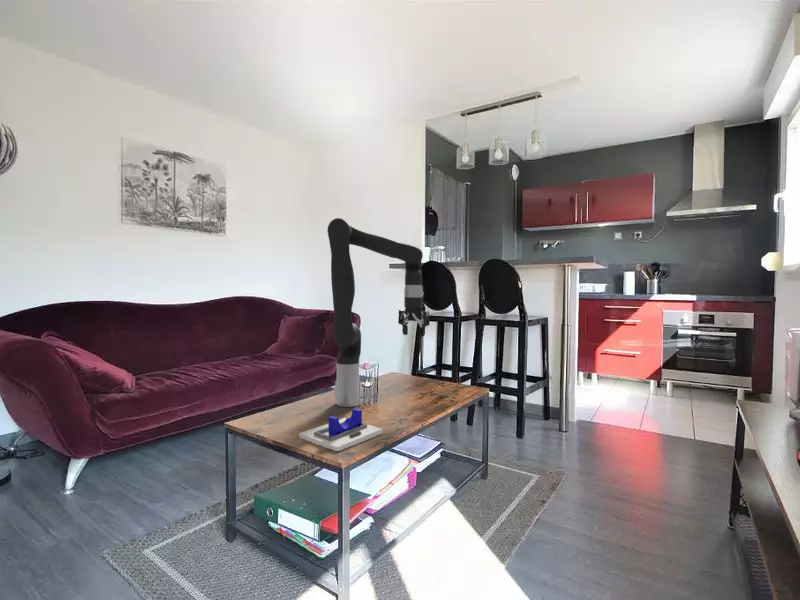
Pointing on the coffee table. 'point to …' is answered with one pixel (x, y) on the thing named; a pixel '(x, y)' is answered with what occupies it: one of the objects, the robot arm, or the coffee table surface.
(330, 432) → the cable clip
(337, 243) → the robot arm
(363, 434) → the board
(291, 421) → the coffee table surface
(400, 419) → the coffee table surface
